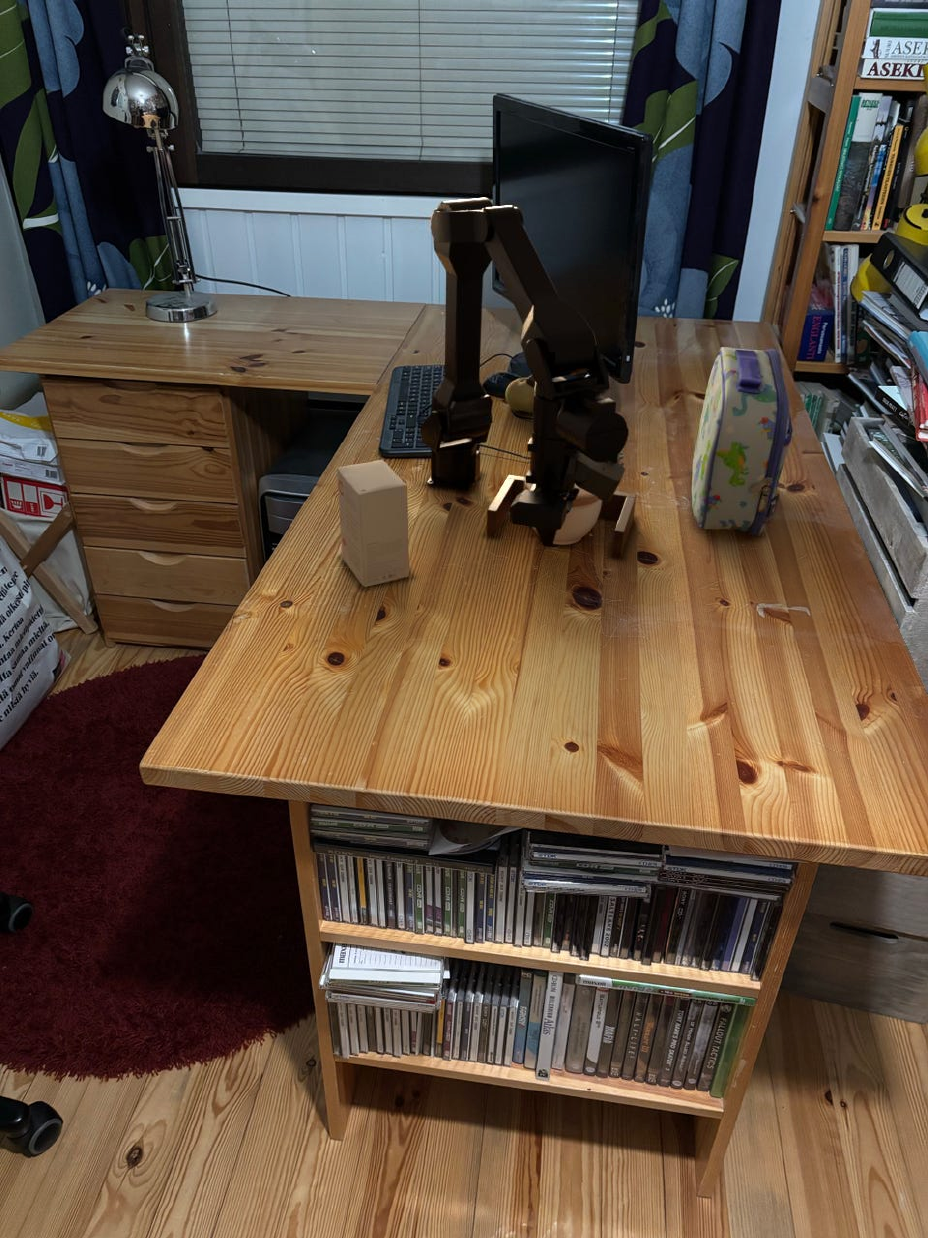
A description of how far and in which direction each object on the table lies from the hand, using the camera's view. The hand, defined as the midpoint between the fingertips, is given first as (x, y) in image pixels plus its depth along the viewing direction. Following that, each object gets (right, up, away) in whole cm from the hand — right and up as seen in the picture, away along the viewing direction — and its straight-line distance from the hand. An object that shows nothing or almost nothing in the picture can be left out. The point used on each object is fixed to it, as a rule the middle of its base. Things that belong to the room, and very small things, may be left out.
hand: (548, 545), depth 120 cm
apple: (0, +27, +44) cm, 51 cm away
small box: (-22, -3, 0) cm, 22 cm away
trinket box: (+2, +2, +8) cm, 9 cm away
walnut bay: (+3, +3, +10) cm, 11 cm away
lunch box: (+28, +7, +17) cm, 33 cm away
